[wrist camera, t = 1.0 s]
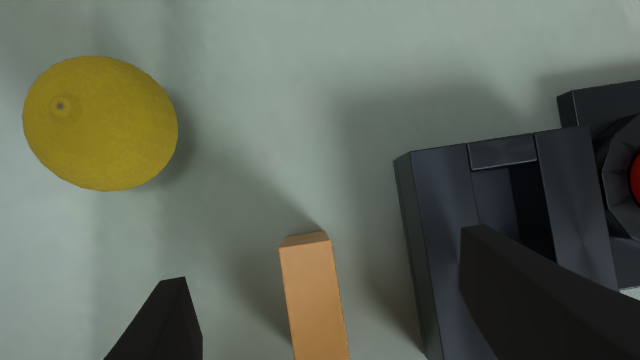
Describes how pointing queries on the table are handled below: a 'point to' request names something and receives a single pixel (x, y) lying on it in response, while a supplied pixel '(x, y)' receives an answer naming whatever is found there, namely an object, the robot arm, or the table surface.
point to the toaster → (498, 220)
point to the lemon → (100, 123)
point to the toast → (313, 297)
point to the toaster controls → (613, 163)
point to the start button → (635, 178)
